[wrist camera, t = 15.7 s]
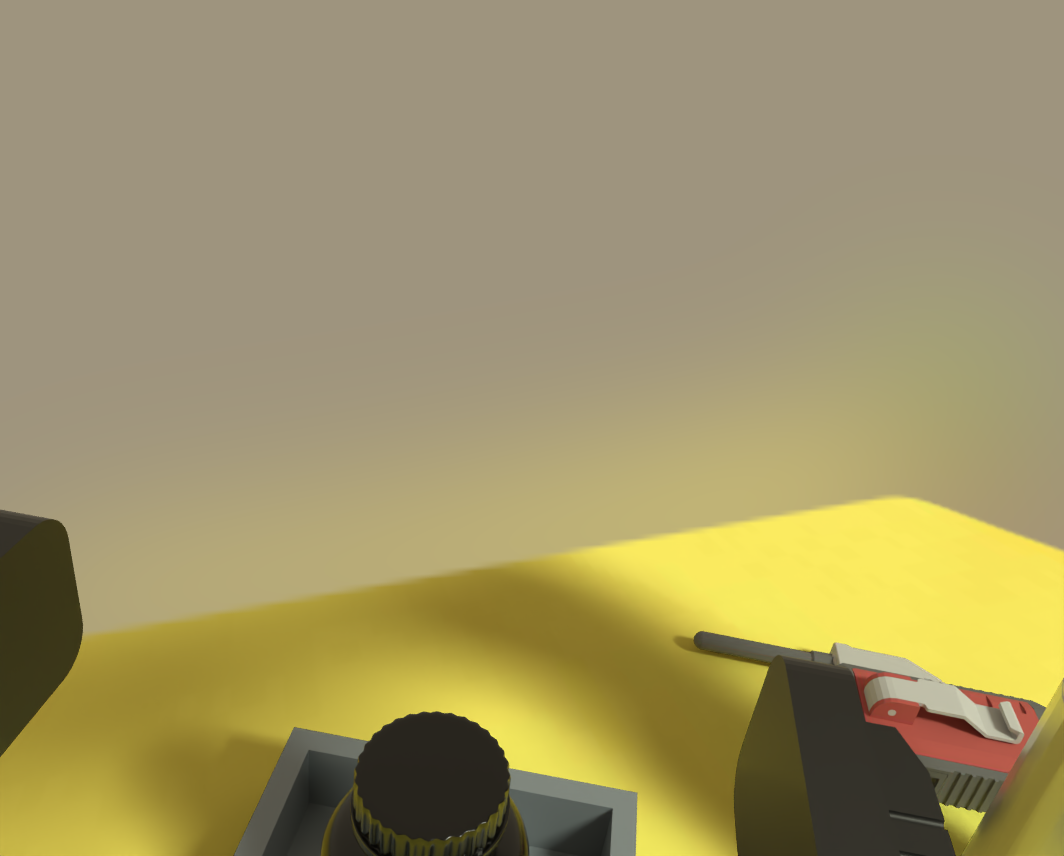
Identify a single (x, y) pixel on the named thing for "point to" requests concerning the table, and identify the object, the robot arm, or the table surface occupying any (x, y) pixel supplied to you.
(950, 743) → the walkie-talkie
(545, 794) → the tray
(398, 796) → the supplement bottle
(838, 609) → the table surface
